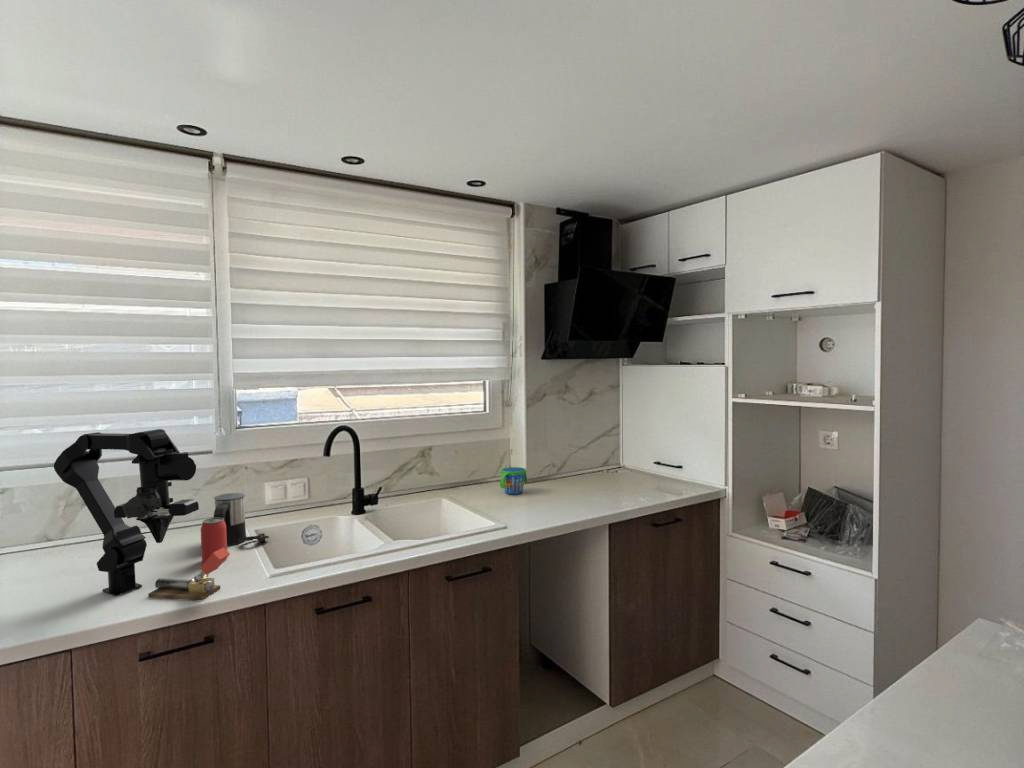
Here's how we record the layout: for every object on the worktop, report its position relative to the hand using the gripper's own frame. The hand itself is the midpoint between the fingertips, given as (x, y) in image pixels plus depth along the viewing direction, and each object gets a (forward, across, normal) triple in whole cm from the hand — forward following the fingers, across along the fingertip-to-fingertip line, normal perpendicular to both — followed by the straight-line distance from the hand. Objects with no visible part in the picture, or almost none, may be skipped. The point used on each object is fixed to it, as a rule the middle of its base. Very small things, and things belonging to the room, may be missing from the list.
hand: (159, 542), depth 143 cm
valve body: (+13, +5, +1) cm, 14 cm away
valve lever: (+9, +10, +1) cm, 13 cm away
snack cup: (+16, +79, +107) cm, 134 cm away
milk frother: (+13, -3, +40) cm, 42 cm away
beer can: (+13, -1, +23) cm, 27 cm away
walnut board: (+13, +5, +1) cm, 14 cm away
